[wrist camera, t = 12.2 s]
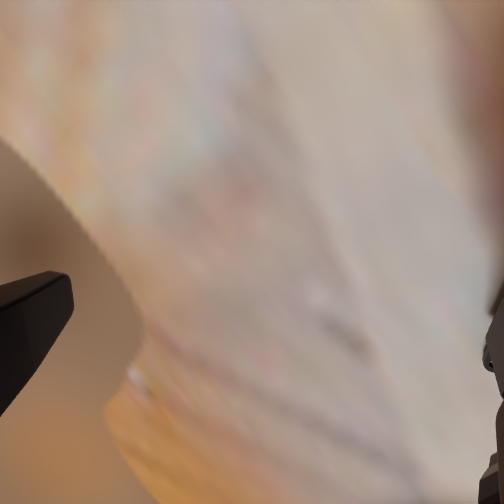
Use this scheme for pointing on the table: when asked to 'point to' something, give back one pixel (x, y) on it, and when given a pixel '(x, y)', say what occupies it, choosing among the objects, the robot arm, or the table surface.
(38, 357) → the robot arm
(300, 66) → the table surface
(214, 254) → the table surface
